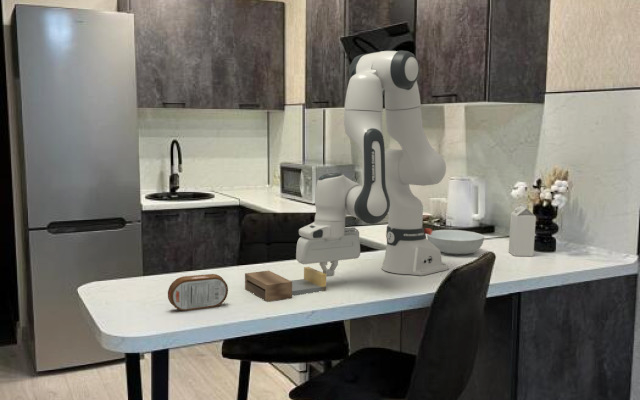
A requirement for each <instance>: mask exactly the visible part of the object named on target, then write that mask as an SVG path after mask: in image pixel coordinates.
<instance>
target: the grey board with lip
mask: <svg viewBox="0 0 640 400" xmlns="http://www.w3.org/2000/svg"><path fill="white" fill-rule="evenodd" d="M291 281H292V295H294V296H300V294H301V295H307V294H306V293H308V294H313V292H315V293H320V292H319V291H322V292H326V291H327V277H326V274H325V273H323V271H320V270H317V269H315V268H312V267H310V266H305V267H303V278H300V279H294V280H291Z"/></svg>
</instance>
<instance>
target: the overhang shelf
mask: <svg viewBox="0 0 640 400" xmlns="http://www.w3.org/2000/svg"><path fill="white" fill-rule="evenodd" d="M244 290H246V291H248V292H249V291H250V292H249V293H251V292H252V293H251V294H253V293H254V294H255V296H256V295H257V296H256V297H258V298H260V299H261V298H262V299H261V300H263V299H264V300H263V301H265V300H266V301H269V302H273V301H272V300H276V301H280V300H279V299H282V300H287V299H286V298H289V299H293V296H292V280H289V279H288V278H285V277H284V276H281V275H279V274H277V273H275V272H273V271H271V270H263V271H255V272H245V273H244ZM254 294H253V295H254ZM266 301H265V302H266Z"/></svg>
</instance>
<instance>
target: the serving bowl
mask: <svg viewBox="0 0 640 400" xmlns="http://www.w3.org/2000/svg"><path fill="white" fill-rule="evenodd" d="M432 231H433V232H432V233H431V235H429V234H426V239H428V240H429V241H430V242H431V243H432V244H433V245H434V246H436V247H437V248H438V249H439V250H440V252H441V253H444V254H446V255H452V256H453V255H454V256H464V255H468V254H473V253H474V252H477V251H478V250H480V248H481V247H482V245H483V243H484V240H485V236H484V235H483V234H481V233H478V232H475V231H470V230H469V231H468V230H460V229H459V230H458V229H439V230H437V229H436V230H432Z"/></svg>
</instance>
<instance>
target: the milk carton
mask: <svg viewBox="0 0 640 400" xmlns="http://www.w3.org/2000/svg"><path fill="white" fill-rule="evenodd" d="M536 221H537V216H536V215H535V214H534V213H533V212H532V211H531V210H529V208H528V204H525V203H522V202H520V205H519V206H517V207H515V208H514V210H513V211H512V212H511V213H510V222H509V223H510V224H509V239H508V253H509V254H511V255H512V256H514V257H534V253H535V237H536Z"/></svg>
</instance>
